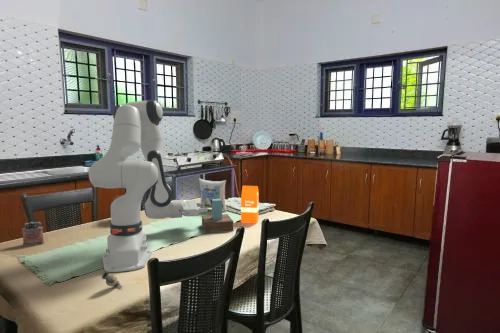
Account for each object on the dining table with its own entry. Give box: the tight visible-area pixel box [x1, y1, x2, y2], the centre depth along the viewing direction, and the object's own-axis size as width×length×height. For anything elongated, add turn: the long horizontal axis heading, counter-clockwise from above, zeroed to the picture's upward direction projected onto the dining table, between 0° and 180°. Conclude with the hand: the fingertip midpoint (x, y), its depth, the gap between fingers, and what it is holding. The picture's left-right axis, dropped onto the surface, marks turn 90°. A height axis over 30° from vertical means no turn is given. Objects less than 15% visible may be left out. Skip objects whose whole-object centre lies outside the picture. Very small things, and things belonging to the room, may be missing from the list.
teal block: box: [211, 199, 223, 220], centre depth 172 cm, size 4×4×10 cm
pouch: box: [198, 177, 228, 212], centre depth 208 cm, size 8×19×20 cm, turn 65°
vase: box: [101, 272, 123, 291], centre depth 107 cm, size 5×5×6 cm
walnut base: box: [201, 213, 234, 234], centre depth 173 cm, size 14×14×5 cm
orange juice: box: [240, 185, 260, 224], centre depth 185 cm, size 8×9×20 cm
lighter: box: [21, 221, 45, 247], centre depth 147 cm, size 8×3×10 cm, turn 105°
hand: (205, 207), depth 170 cm, fingers open, 8 cm apart
